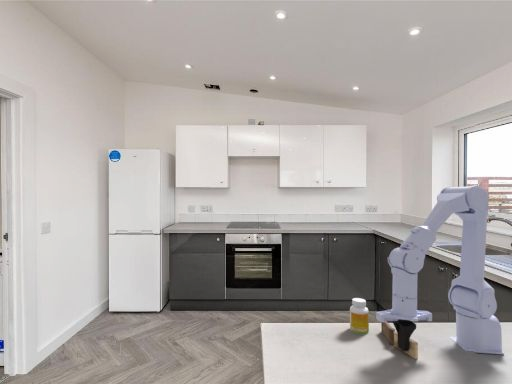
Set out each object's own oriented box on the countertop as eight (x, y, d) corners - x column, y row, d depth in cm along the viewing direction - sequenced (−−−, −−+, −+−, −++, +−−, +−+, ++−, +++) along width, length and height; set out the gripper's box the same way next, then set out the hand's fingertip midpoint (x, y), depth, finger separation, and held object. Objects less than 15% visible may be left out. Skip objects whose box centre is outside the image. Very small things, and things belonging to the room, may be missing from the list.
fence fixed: (385, 333, 87) (385, 317, 87) (396, 347, 78) (395, 330, 78) (380, 333, 87) (380, 317, 87) (389, 347, 78) (389, 330, 78)
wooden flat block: (393, 346, 78) (393, 331, 78) (396, 345, 78) (396, 331, 78) (415, 359, 71) (414, 343, 71) (418, 358, 72) (417, 342, 72)
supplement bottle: (371, 336, 84) (371, 303, 85) (353, 336, 85) (352, 302, 85) (365, 328, 90) (364, 297, 90) (347, 328, 90) (347, 296, 90)
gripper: (388, 300, 69) (387, 358, 69) (441, 300, 72) (441, 356, 71) (372, 291, 76) (371, 344, 76) (421, 291, 78) (420, 342, 78)
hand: (403, 349), depth 74 cm, fingers closed, pressing on wooden flat block
